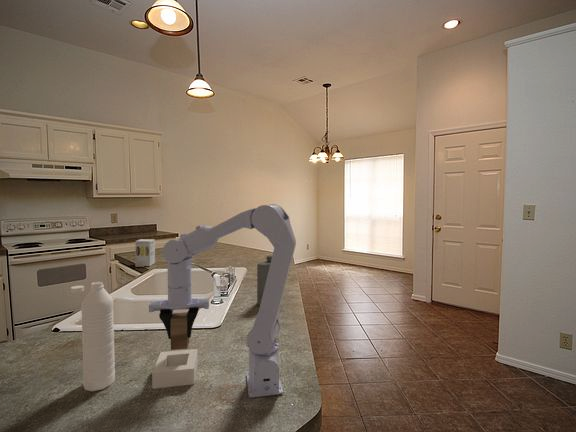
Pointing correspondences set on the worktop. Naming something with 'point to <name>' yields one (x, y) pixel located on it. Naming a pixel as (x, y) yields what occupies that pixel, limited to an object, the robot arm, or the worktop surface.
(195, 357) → the ceramic well
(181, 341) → the walnut peg
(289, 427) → the worktop surface
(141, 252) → the supplement box
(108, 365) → the water bottle
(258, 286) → the flask
